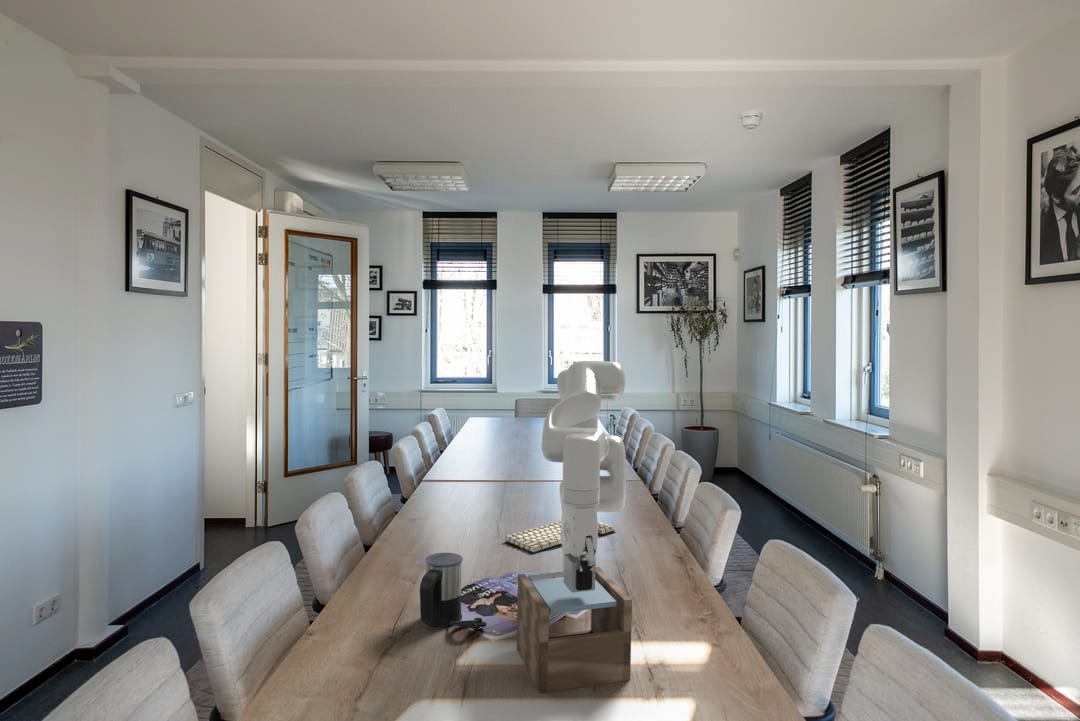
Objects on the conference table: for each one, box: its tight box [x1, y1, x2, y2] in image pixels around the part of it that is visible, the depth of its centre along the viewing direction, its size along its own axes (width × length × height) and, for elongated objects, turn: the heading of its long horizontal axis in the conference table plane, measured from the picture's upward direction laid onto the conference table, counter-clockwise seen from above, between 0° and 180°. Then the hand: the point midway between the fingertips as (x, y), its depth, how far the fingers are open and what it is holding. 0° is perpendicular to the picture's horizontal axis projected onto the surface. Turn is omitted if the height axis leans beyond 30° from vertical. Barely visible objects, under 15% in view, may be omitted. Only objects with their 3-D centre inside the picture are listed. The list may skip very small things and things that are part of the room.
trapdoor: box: [527, 571, 616, 615], centre depth 135 cm, size 20×15×6 cm
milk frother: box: [419, 552, 488, 630], centre depth 149 cm, size 14×16×15 cm
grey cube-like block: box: [564, 552, 596, 593], centre depth 128 cm, size 5×5×6 cm
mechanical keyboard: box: [503, 520, 617, 554], centre depth 215 cm, size 38×19×3 cm, turn 133°
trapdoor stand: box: [516, 566, 633, 694], centre depth 132 cm, size 18×19×16 cm
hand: (579, 582), depth 128 cm, fingers closed on grey cube-like block, 5 cm apart
